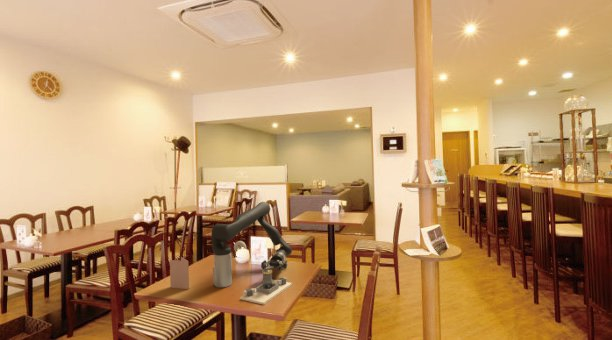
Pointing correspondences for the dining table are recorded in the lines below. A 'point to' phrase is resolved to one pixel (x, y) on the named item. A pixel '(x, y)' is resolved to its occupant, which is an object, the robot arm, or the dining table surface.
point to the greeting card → (179, 273)
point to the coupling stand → (265, 292)
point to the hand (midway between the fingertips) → (271, 268)
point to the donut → (239, 245)
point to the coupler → (267, 278)
